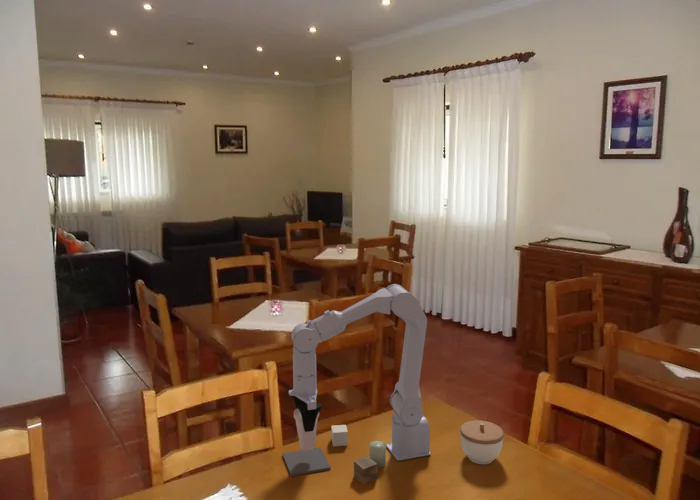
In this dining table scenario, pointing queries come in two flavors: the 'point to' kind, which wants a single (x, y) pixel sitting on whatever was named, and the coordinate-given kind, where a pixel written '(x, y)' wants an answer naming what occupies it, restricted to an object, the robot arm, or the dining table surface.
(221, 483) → the dining table surface
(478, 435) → the lidded jar
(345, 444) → the grey block
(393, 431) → the robot arm
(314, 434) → the smoothie
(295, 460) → the mat
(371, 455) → the sage tin
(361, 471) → the walnut block
